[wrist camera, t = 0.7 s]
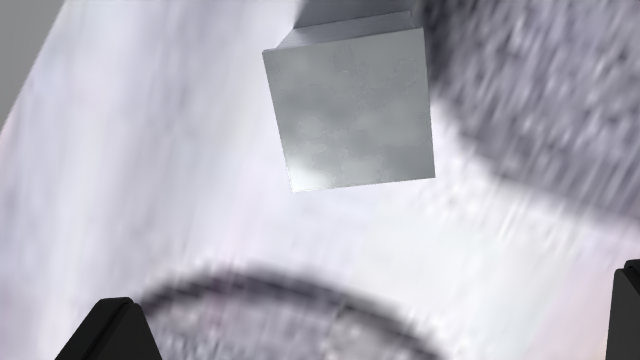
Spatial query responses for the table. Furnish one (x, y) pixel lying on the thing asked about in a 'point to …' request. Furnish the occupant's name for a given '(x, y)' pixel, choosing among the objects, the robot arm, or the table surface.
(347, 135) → the wall box
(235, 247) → the table surface
